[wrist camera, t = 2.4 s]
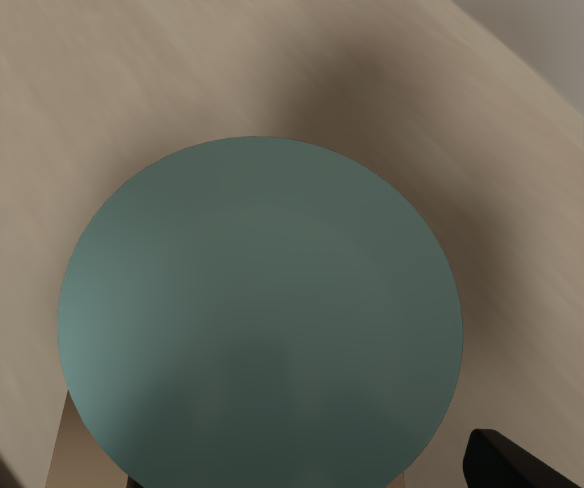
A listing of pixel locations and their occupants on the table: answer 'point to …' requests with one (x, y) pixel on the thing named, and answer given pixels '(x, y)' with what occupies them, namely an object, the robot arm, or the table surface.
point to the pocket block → (95, 458)
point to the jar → (260, 321)
